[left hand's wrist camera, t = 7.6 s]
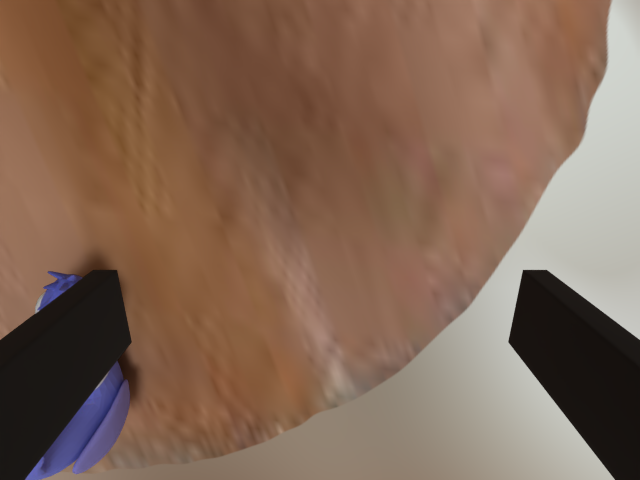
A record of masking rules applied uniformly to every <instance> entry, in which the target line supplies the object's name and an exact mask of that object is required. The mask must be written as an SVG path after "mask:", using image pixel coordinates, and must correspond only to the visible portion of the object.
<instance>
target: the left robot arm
mask: <svg viewBox="0 0 640 480" xmlns="http://www.w3.org/2000/svg"><path fill="white" fill-rule="evenodd" d="M130 344H131V337H130V332H129V327H128V322H127V317H126V312H125V307H124V302H123V297H122V292H121V288H120V283H119V278H118V273H117V270H93V271H91V272H90V273H89V274H87V275H86V276H85V277H83V278H82V279H81V280H79V281H78V282H77V283H75V284H74V285H73V286H71V287H70V288H69V289H67V290H66V291H65V292H63V293H62V294H61V295H59V296H58V297H57V298H55V299H54V300H53V301H51V302H50V303H49V304H47V305H46V306H45V307H43V308H42V309H41V310H40V311H38V312H37V313H36V314H34V315H33V316H32V317H30V318H29V319H28V320H26V321H25V322H24V323H22V324H21V325H20V326H18V327H17V328H16V329H14V330H13V331H12V332H10V333H9V334H8V335H6V336H5V337H4V338H2V339H1V340H0V480H25V479H26V478H27V476H28V475H29V474H30V472H31V471H32V470H33V469H34V467H35V466H36V465H37V463H38V462H39V461H40V460H41V458H42V457H43V456H44V454H45V453H46V452H47V451H48V449H49V448H50V447H51V445H52V444H53V443H54V441H55V440H56V439H57V438H58V436H59V435H60V434H61V432H62V431H63V430H64V429H65V427H66V426H67V425H68V423H69V422H70V421H71V420H72V418H73V417H74V416H75V414H76V413H77V412H78V411H79V409H80V408H81V407H82V405H83V404H84V403H85V402H86V400H87V399H88V398H89V396H90V395H91V394H92V393H93V391H94V390H95V389H96V387H97V386H98V385H99V383H100V382H101V381H102V380H103V378H104V377H105V376H106V374H107V373H108V372H109V371H110V369H111V368H112V367H113V365H114V364H115V363H116V362H117V360H118V359H119V358H120V356H121V355H122V354H123V353H124V351H125V350H126V349H127V347H128V346H129V345H130ZM509 344H510V345H511V346H512V347H513V348H514V350H515V351H516V353H517V354H518V355H519V356H520V358H521V359H522V360H523V362H524V363H525V364H526V365H527V367H528V368H529V369H530V371H531V372H532V373H533V374H534V376H535V377H536V378H537V380H538V381H539V382H540V383H541V385H542V386H543V387H544V389H545V390H546V391H547V393H548V394H549V395H550V396H551V398H552V399H553V400H554V401H555V403H556V404H557V405H558V407H559V408H560V409H561V411H562V412H563V413H564V414H565V416H566V417H567V418H568V419H569V421H570V422H571V423H572V425H573V426H574V427H575V429H576V430H577V431H578V432H579V434H580V435H581V436H582V438H583V439H584V440H585V441H586V443H587V444H588V445H589V447H590V448H591V449H592V451H593V452H594V453H595V454H596V456H597V457H598V458H599V460H600V461H601V462H602V463H603V465H604V466H605V467H606V469H607V470H608V471H609V472H610V474H611V475H612V476H613V478H614V479H615V480H640V340H639V339H638V338H636V337H635V336H634V335H632V334H631V333H630V332H628V331H627V330H626V329H624V328H623V327H622V326H620V325H619V324H618V323H616V322H615V321H614V320H612V319H611V318H610V317H608V316H607V315H606V314H604V313H603V312H602V311H600V310H599V309H598V308H596V307H595V306H594V305H593V304H591V303H590V302H589V301H587V300H586V299H585V298H583V297H582V296H581V295H579V294H578V293H577V292H575V291H574V290H573V289H571V288H570V287H569V286H567V285H566V284H565V283H563V282H562V281H561V280H559V279H558V278H557V277H555V276H554V275H553V274H551V273H550V272H549V271H547V270H523V273H522V278H521V283H520V288H519V293H518V298H517V302H516V307H515V312H514V317H513V322H512V327H511V332H510V337H509Z"/></svg>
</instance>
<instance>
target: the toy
mask: <svg viewBox="0 0 640 480" xmlns="http://www.w3.org/2000/svg"><path fill="white" fill-rule="evenodd" d="M48 273H49V274H51V275H53V276H54V277H56V278H58V280H56V281H55V282H54V283H52V284H49V285H47V286H45V287H44V289H47V290H46V292H44V293H43V294H42V295H41V296H40V297H39V299H38V301H37V303H36V307H35V314H36V313H37V312H38V311H40V310H41V309H42V308H43V307H45V306H46V305H47V304H49V303H50V302H51V301H53V300H54V299H55V298H57V297H58V296H59V295H61V294H62V293H63V292H65V291H66V290H67V289H69V288H70V287H71V286H73V285H74V284H75V283H77V282H78V281H79V280H81V279H82V277H80V276H77V275H73V274H70V275H67V274H62V273H57V272H51V271H48ZM129 405H130V391H129V383H128V380H127V379H126V380H124V378H123V375H122V372H121V369H120V366H119V363H118V361H117V362H116V363H115V364H114V365H113V367H112V368H111V369H110V371H109V372H108V373H107V374H106V376H105V377H104V378H103V380H102V381H101V382H100V383H99V385H98V386H97V387H96V389H95V390H94V391H93V393H92V394H91V395H90V396H89V398H88V399H87V400H86V402H85V403H84V404H83V405H82V407H81V408H80V409H79V411H78V412H77V413H76V414H75V416H74V417H73V418H72V420H71V421H70V422H69V423H68V425H67V426H66V427H65V429H64V430H63V431H62V432H61V434H60V435H59V436H58V438H57V439H56V440H55V441H54V443H53V444H52V445H51V447H50V448H49V449H48V451H47V452H46V453H45V454H44V456H43V457H42V458H41V460H40V461H39V462H38V463H37V465H36V466H35V467H34V469H33V470H32V471H31V472H30V474H29V475H28V476H27V478H26V479H25V480H40V479H43V478H46V477H49V476H52V475H54V474H56V473H58V472H60V471H61V470H63V469H64V468H66V467H67V466H69V465H70V464H72V463H73V462H74V461H75V460H77V461H76V463H75V464H74V467H73V473H75V474H79V473H82V472H84V471H86V470H88V469H89V468H91V467H92V466H94V465H95V464H96V463H97V462H98V461H100V460H101V459H102V458H103V457H104V456H105V455H106V454H107V453H108V452H109V450H110V449H111V447H112V446H113V445H114V443H115V442H116V440H117V438H118V436H119V435H120V432H121V430H122V428H123V426H124V423H125V420H126V417H127V414H128V409H129Z"/></svg>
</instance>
